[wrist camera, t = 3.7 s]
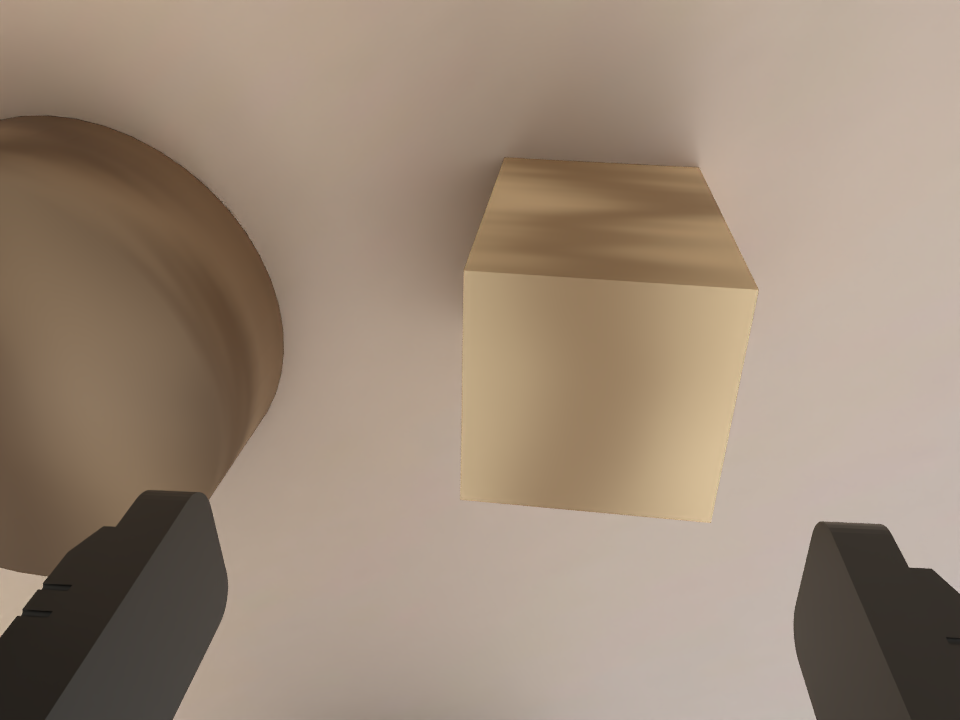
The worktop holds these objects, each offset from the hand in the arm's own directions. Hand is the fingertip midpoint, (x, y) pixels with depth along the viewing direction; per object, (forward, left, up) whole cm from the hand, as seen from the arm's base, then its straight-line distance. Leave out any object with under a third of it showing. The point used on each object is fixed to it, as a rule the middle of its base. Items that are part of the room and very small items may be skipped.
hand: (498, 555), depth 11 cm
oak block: (-1, 0, -13) cm, 13 cm away
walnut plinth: (+14, +3, -13) cm, 19 cm away
